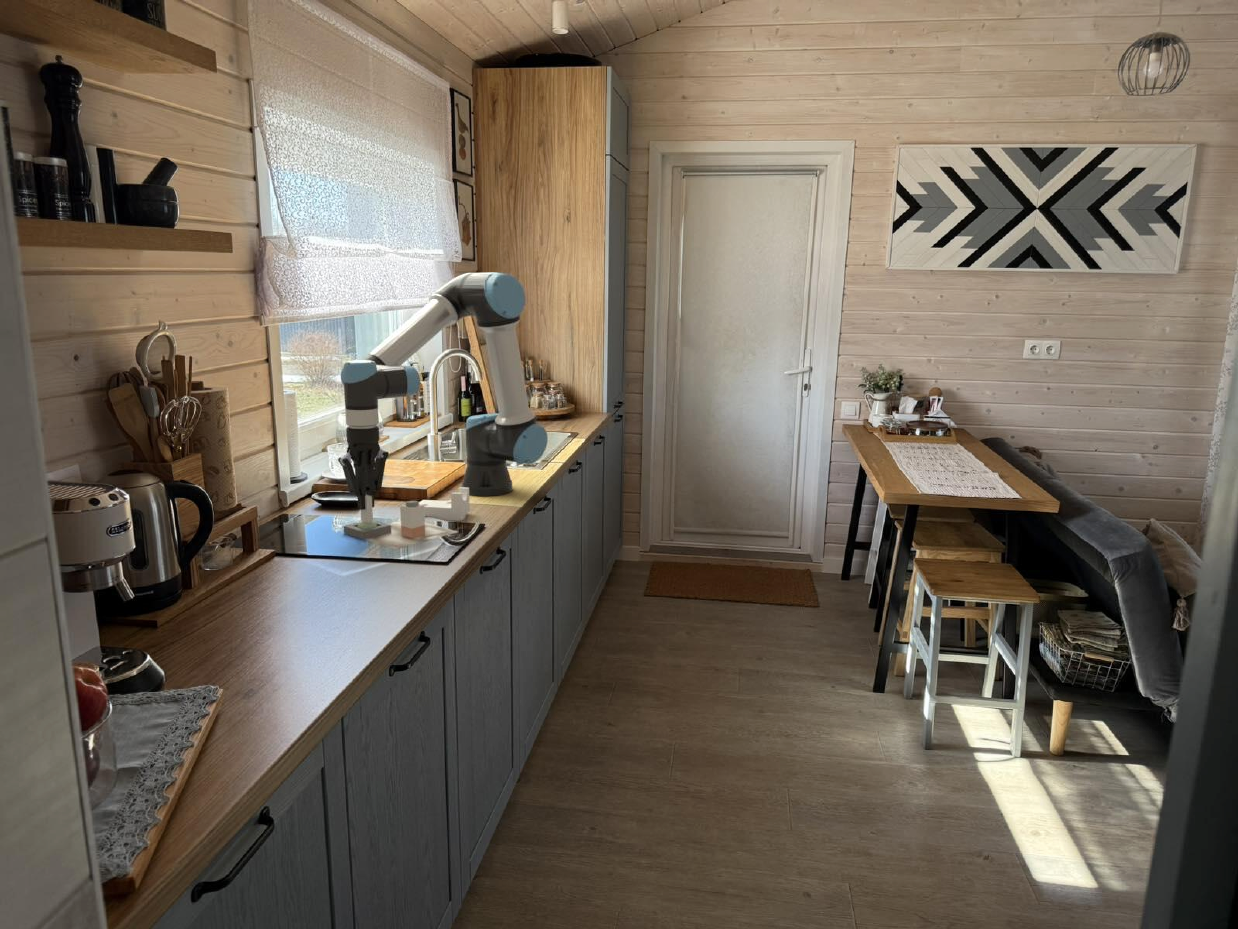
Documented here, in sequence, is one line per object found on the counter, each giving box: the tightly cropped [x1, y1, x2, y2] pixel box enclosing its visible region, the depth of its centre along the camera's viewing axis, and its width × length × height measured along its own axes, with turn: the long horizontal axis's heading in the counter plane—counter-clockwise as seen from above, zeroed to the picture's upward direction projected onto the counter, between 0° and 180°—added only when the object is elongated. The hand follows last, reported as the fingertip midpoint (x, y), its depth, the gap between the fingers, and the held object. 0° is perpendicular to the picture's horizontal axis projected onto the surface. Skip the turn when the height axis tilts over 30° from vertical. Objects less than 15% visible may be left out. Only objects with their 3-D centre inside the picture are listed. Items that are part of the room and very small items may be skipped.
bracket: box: [418, 486, 470, 522], centre depth 230 cm, size 13×7×8 cm, turn 82°
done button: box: [357, 519, 377, 529], centre depth 211 cm, size 4×4×2 cm
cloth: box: [365, 520, 458, 550], centre depth 212 cm, size 21×21×1 cm
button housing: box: [343, 519, 391, 541], centre depth 211 cm, size 8×8×2 cm
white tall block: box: [399, 500, 426, 539], centre depth 209 cm, size 4×4×8 cm
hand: (367, 521), depth 210 cm, fingers closed
